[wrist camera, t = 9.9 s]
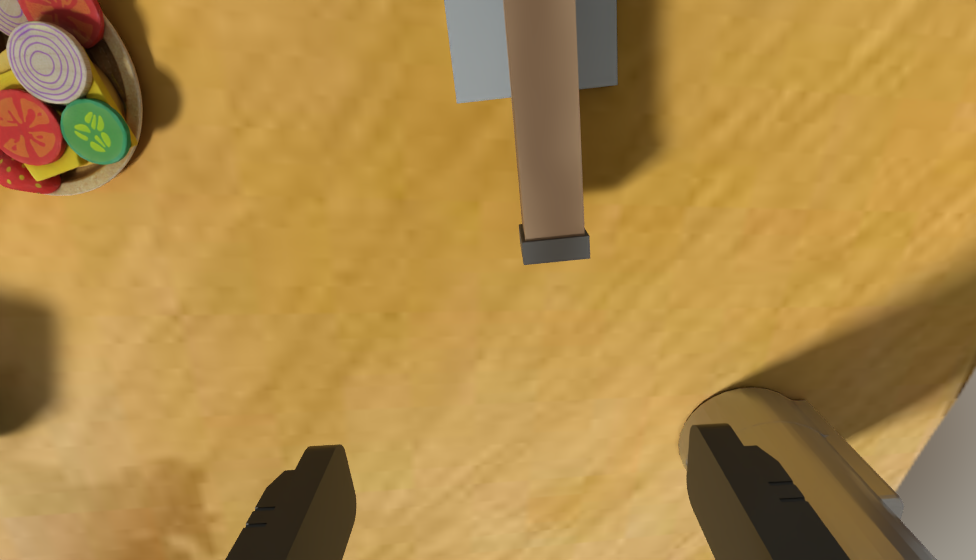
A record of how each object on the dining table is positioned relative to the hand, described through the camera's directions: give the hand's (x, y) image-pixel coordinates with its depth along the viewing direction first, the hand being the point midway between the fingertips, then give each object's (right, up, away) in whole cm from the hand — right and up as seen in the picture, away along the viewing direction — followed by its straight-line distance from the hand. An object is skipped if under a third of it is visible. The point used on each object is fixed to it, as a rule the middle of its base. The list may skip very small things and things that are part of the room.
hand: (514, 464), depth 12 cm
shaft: (+2, +17, +13) cm, 22 cm away
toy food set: (-27, +16, +18) cm, 36 cm away
